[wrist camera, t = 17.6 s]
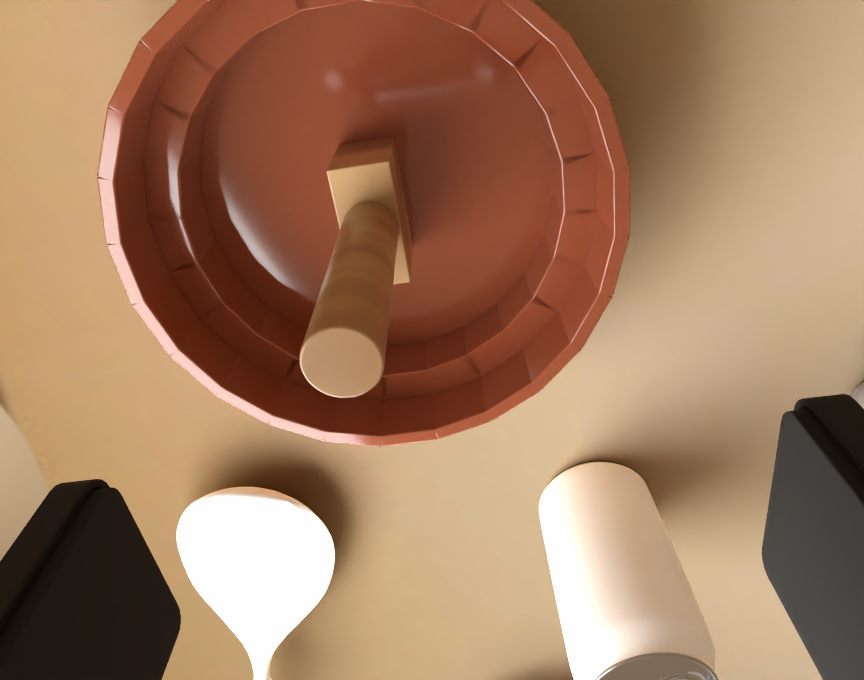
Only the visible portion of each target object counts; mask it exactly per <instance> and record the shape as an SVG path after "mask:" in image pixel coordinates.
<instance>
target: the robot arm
mask: <svg viewBox="0 0 864 680" xmlns="http://www.w3.org/2000/svg"><path fill="white" fill-rule="evenodd" d="M762 559H763V564H764V567H765V571H766V573H767V576H768V578H769V580H770V582H771V583H772V585H773V587H774V589H775V591H776V593H777V595H778V596H779V598H780V600H781V602H782V604H783V606H784V608H785V610H786V611H787V613H788V615H789V617H790V619H791V621H792V623H793V624H794V626H795V628H796V630H797V632H798V634H799V636H800V638H801V639H802V641H803V643H804V645H805V647H806V649H807V651H808V652H809V654H810V656H811V658H812V660H813V662H814V664H815V665H816V667H817V669H818V671H819V673H820V675H821V677H822V679H823V680H864V409H863V408H862V407H861V406H860V405H859V403H858V402H857V401H856V400H855V399H853V398H852V397H851V396H849V395H845V394H840V395H832V396H823V397H814V398H805V399H801V400H798V401H797V403H796V404H795V407H794V410H793V411H788V412H785V413H784V415H783V417H782V420H781V427H780V433H779V440H778V447H777V453H776V460H775V466H774V473H773V480H772V486H771V493H770V499H769V506H768V513H767V519H766V526H765V533H764V539H763V546H762ZM180 624H181V615H180V609H179V607H178V604H177V602H176V600H175V598H174V596H173V595H172V593H171V591H170V589H169V587H168V585H167V583H166V581H165V579H164V577H163V575H162V573H161V571H160V569H159V567H158V565H157V563H156V561H155V559H154V558H153V556H152V554H151V552H150V550H149V548H148V546H147V544H146V542H145V540H144V538H143V536H142V534H141V532H140V530H139V528H138V526H137V524H136V522H135V521H134V519H133V517H132V515H131V513H130V511H129V509H128V507H127V505H126V503H125V501H124V499H123V497H122V495H121V494H120V492H119V491H118V490H117V489H115V488H110V487H109V486H108V484H107V483H106V482H104V481H103V480H100V479H94V480H85V481H76V482H67V483H60V484H58V485H56V486H55V487H54V488H53V489H52V490H51V491H50V492H49V493H48V495H47V496H46V498H45V499H44V501H43V502H42V504H41V505H40V506H39V508H38V509H37V510H36V512H35V513H34V515H33V516H32V518H31V519H30V520H29V522H28V523H27V525H26V526H25V527H24V529H23V530H22V532H21V533H20V535H19V536H18V537H17V539H16V540H15V542H14V543H13V544H12V546H11V547H10V549H9V550H8V551H7V553H6V554H5V556H4V557H3V559H2V560H1V561H0V680H161V679H162V677H163V674H164V671H165V669H166V666H167V663H168V661H169V658H170V655H171V653H172V650H173V647H174V644H175V642H176V639H177V636H178V633H179V630H180Z"/></svg>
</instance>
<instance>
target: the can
mask: <svg viewBox="0 0 864 680" xmlns="http://www.w3.org/2000/svg"><path fill="white" fill-rule="evenodd" d="M539 516H540V522H541V527H542V532H543V537H544V542H545V547H546V552H547V557H548V562H549V567H550V572H551V577H552V582H553V587H554V592H555V597H556V602H557V607H558V612H559V617H560V621H561V626H562V631H563V636H564V641H565V645H566V650H567V655H568V659H569V664H570V668H571V672H572V675H573V678H574V680H718V678H717V676H716V674H715V672H714V668H715V648H714V644H713V641H712V638H711V636H710V633H709V630H708V628H707V625H706V623H705V621H704V618H703V616H702V613H701V611H700V609H699V606H698V604H697V601H696V599H695V597H694V594H693V592H692V590H691V587H690V585H689V582H688V580H687V578H686V575H685V573H684V571H683V568H682V566H681V564H680V561H679V559H678V556H677V554H676V552H675V549H674V547H673V545H672V542H671V540H670V538H669V535H668V533H667V531H666V528H665V526H664V524H663V521H662V519H661V517H660V514H659V512H658V510H657V507H656V505H655V503H654V500H653V498H652V496H651V494H650V491H649V489H648V487H647V485H646V483H645V482H644V480H643V479H642V478H641V476H639V475H638V474H637V473H636V472H634V471H633V470H631V469H629V468H627V467H625V466H622V465H619V464H615V463H610V462H588V463H583V464H579V465H576V466H573V467H571V468H569V469H567V470H565V471H564V472H562V473H561V474H559V475H558V476H557V477H556V478H555V479H554V480H552V481H551V482H550V484H549V485H548V486H547V487H546V489H545V490H544V492H543V494H542V496H541V499H540V503H539Z"/></svg>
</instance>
